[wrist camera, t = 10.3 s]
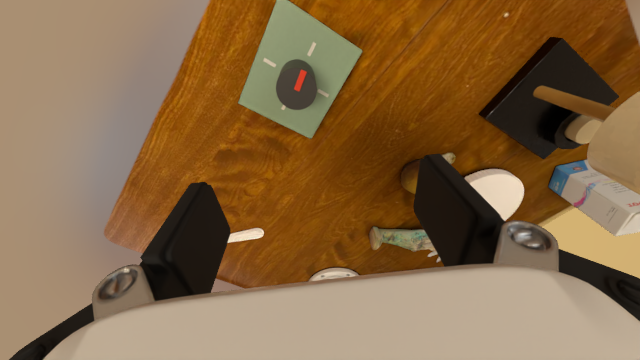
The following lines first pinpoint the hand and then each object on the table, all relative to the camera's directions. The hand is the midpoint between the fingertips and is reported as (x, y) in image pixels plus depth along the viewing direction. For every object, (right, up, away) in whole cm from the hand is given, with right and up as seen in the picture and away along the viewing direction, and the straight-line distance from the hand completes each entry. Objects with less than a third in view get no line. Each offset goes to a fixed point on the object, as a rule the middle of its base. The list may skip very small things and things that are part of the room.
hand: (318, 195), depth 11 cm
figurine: (+17, -10, +37) cm, 42 cm away
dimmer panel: (-3, +14, +19) cm, 24 cm away
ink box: (+44, +2, +31) cm, 54 cm away
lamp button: (+36, +8, +22) cm, 43 cm away
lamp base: (+31, +11, +23) cm, 41 cm away
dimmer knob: (-2, +12, +17) cm, 21 cm away
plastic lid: (+28, -3, +33) cm, 43 cm away
